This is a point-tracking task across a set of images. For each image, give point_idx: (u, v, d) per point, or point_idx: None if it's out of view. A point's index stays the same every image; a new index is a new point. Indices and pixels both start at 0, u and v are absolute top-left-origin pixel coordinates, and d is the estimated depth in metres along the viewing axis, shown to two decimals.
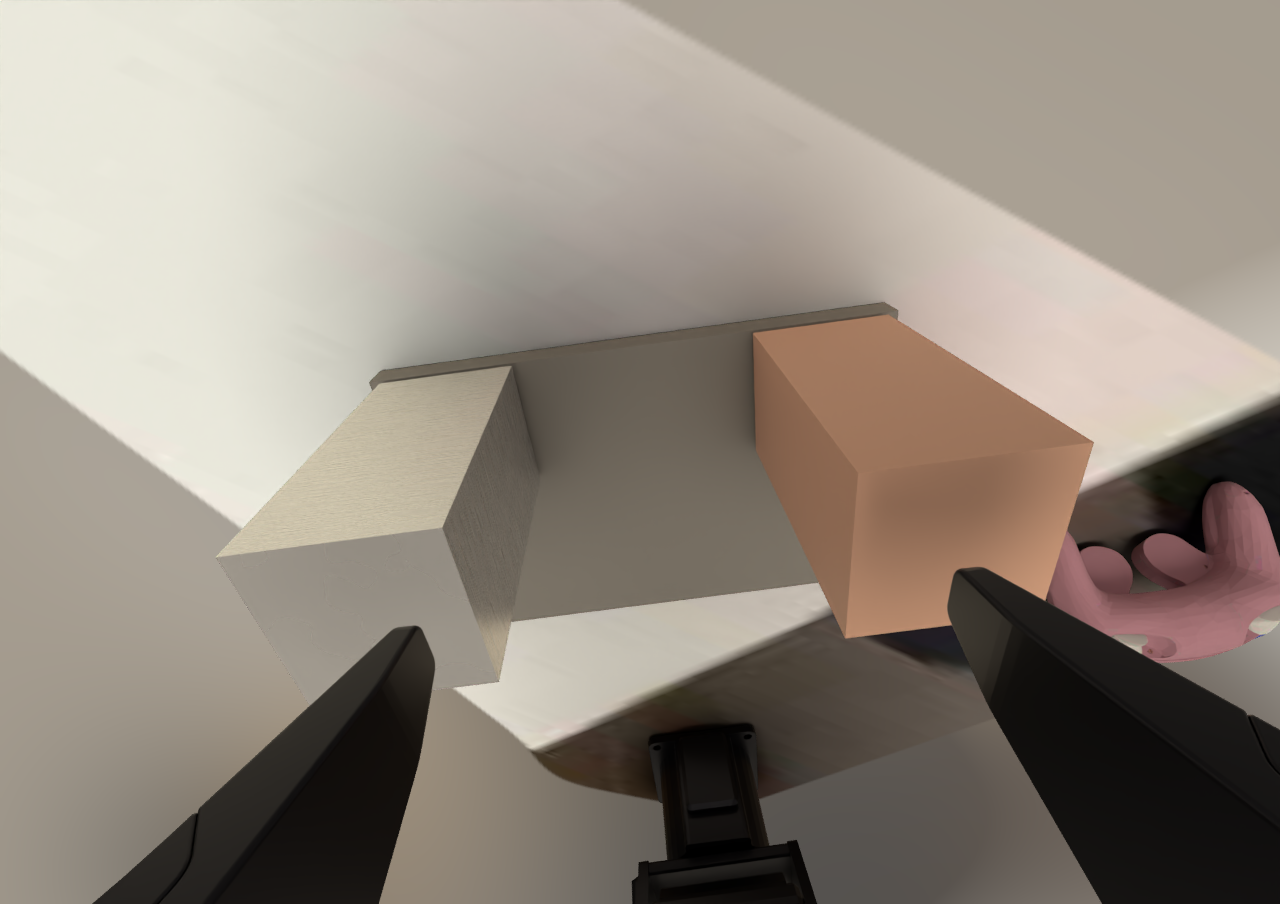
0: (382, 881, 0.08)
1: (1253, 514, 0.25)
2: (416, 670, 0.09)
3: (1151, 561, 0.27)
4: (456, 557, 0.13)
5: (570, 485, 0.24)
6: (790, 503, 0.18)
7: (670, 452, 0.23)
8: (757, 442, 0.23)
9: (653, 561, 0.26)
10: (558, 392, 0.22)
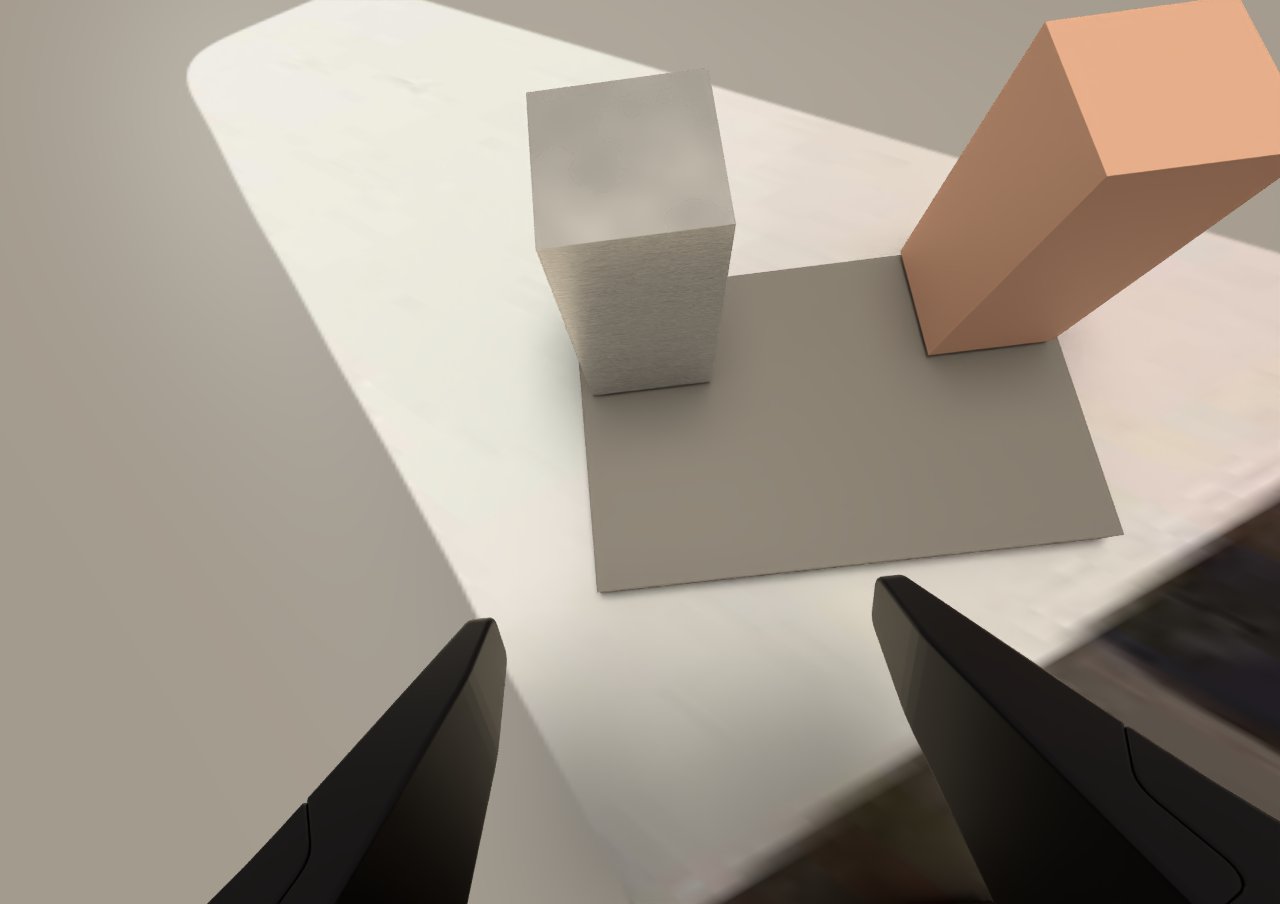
0: (470, 873, 0.08)
1: None
2: (493, 662, 0.09)
3: None
4: (712, 99, 0.15)
5: (739, 395, 0.24)
6: (988, 268, 0.19)
7: (840, 362, 0.24)
8: (928, 339, 0.23)
9: (834, 497, 0.22)
10: (732, 305, 0.25)
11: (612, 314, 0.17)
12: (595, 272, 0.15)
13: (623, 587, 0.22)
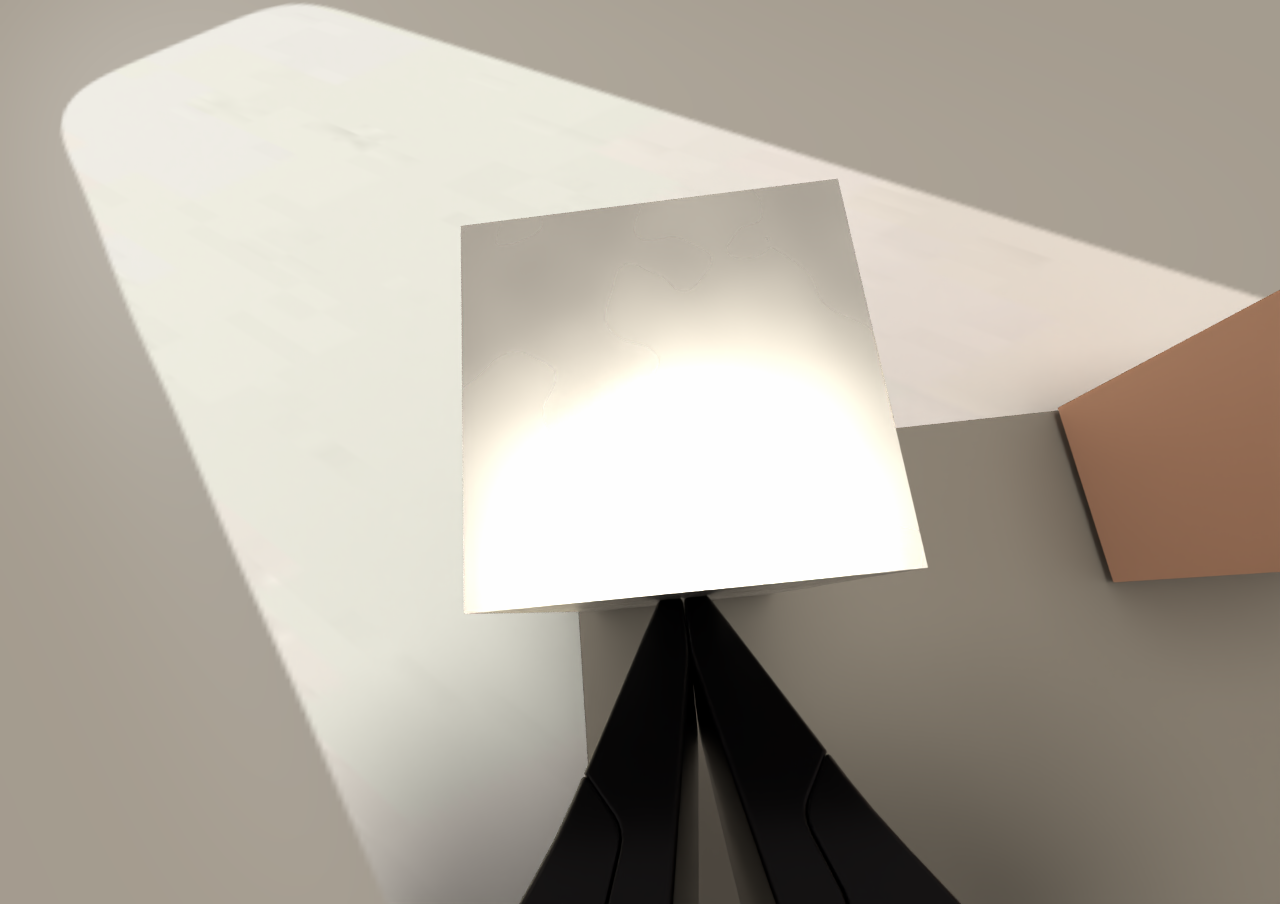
0: (698, 853, 0.08)
1: None
2: None
3: None
4: (848, 247, 0.07)
5: (819, 636, 0.15)
6: None
7: (973, 585, 0.16)
8: (1115, 560, 0.15)
9: (976, 822, 0.14)
10: None
11: (631, 603, 0.10)
12: (600, 603, 0.07)
13: None
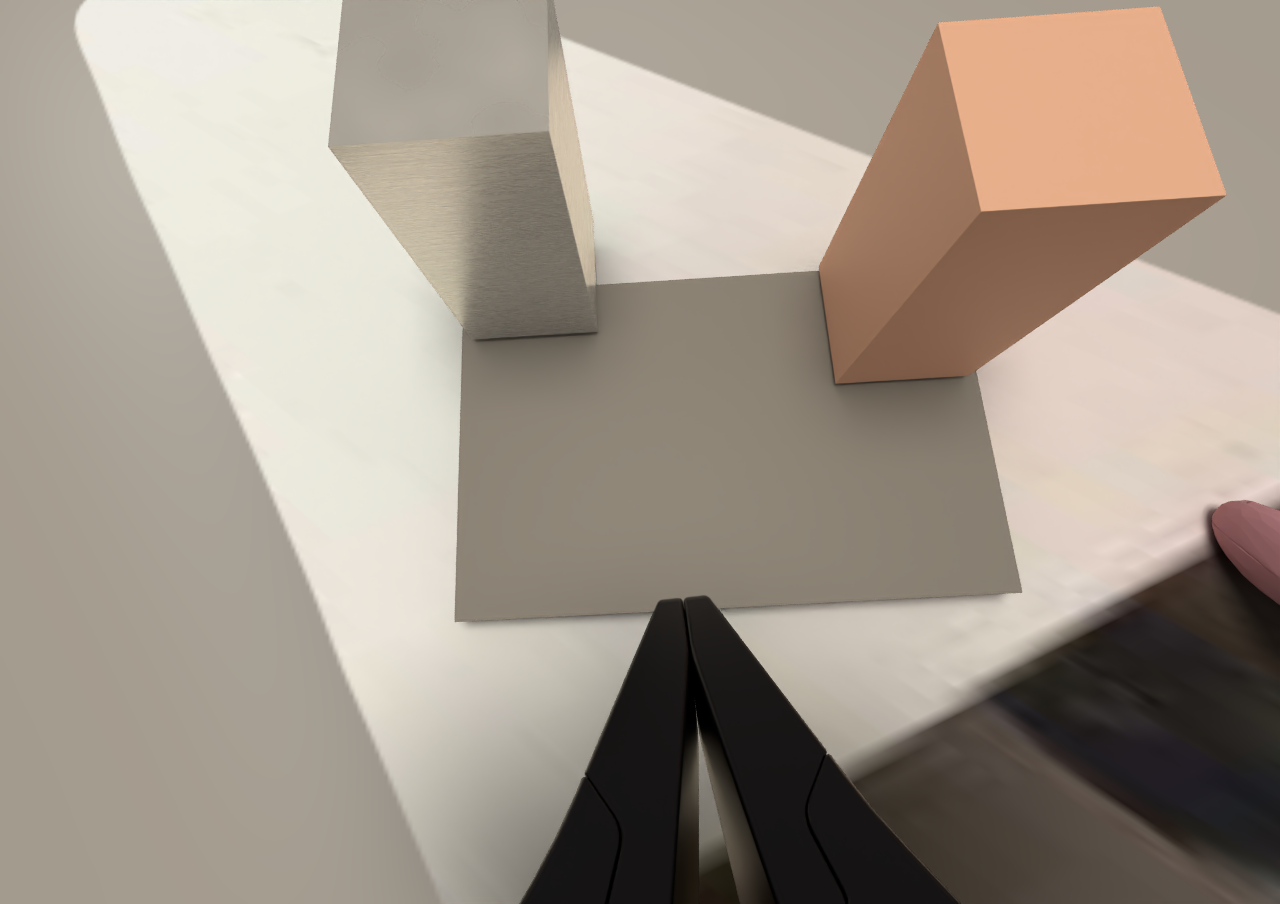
0: (698, 853, 0.08)
1: None
2: None
3: None
4: None
5: (630, 415, 0.22)
6: (883, 298, 0.17)
7: (741, 385, 0.22)
8: (836, 367, 0.21)
9: (719, 533, 0.20)
10: (633, 314, 0.23)
11: (453, 239, 0.16)
12: (410, 182, 0.14)
13: (483, 618, 0.20)
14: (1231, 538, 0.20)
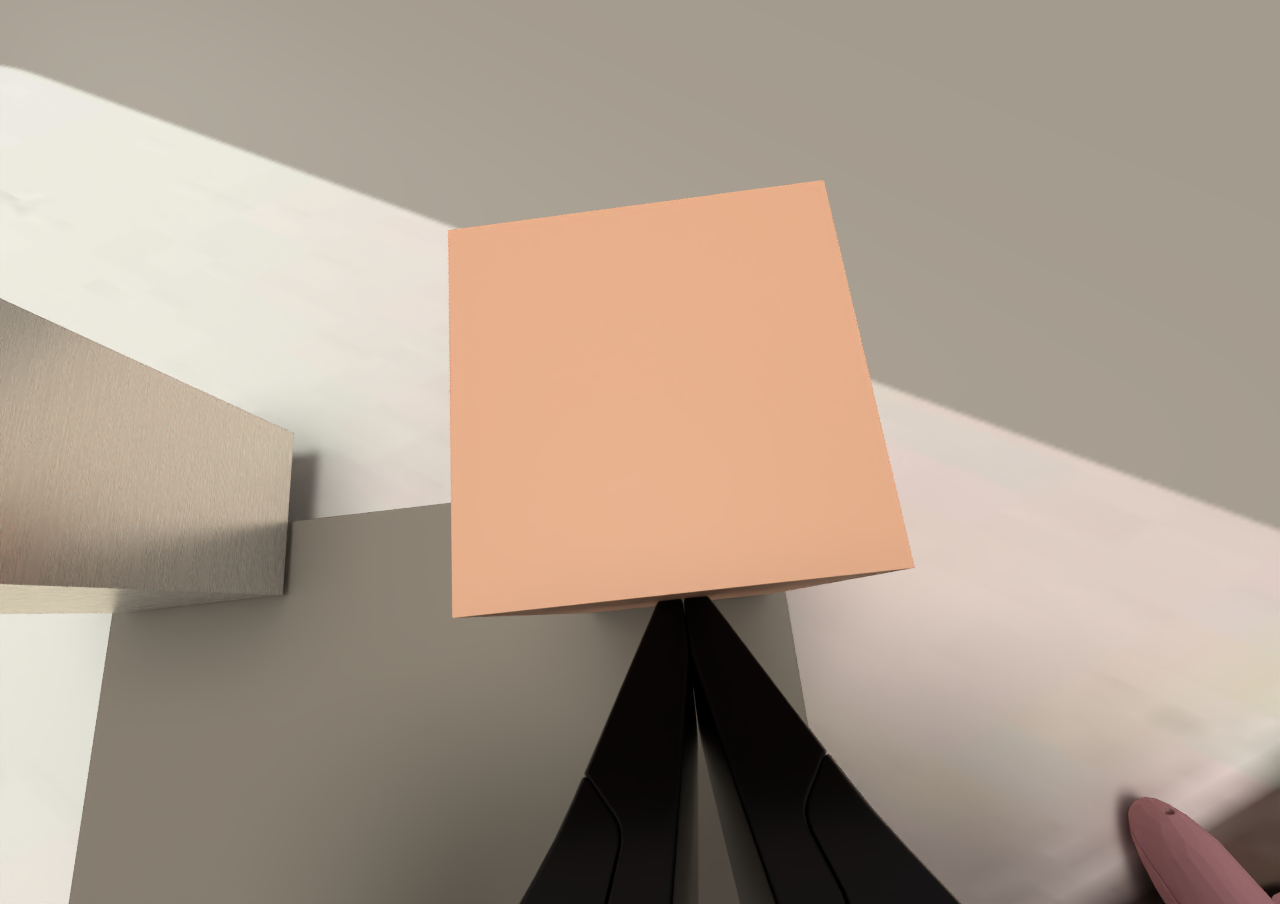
0: None
1: None
2: (687, 642, 0.09)
3: None
4: None
5: (319, 717, 0.16)
6: None
7: (472, 664, 0.16)
8: None
9: None
10: (337, 562, 0.17)
11: None
12: None
13: None
14: (1153, 863, 0.14)
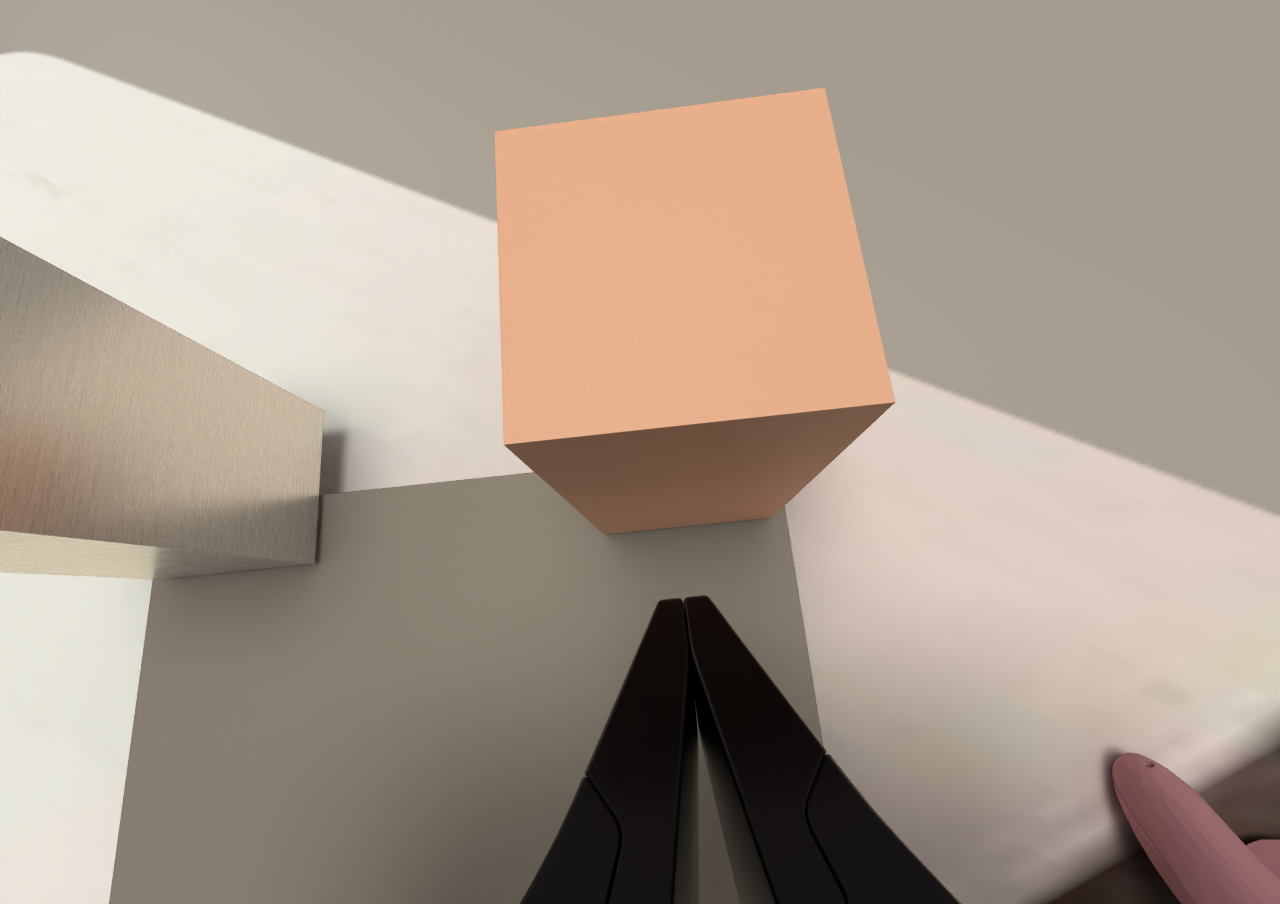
0: (698, 853, 0.08)
1: None
2: None
3: None
4: None
5: (350, 678, 0.17)
6: None
7: (495, 631, 0.17)
8: None
9: (451, 853, 0.15)
10: (366, 534, 0.18)
11: None
12: None
13: None
14: (1134, 813, 0.15)
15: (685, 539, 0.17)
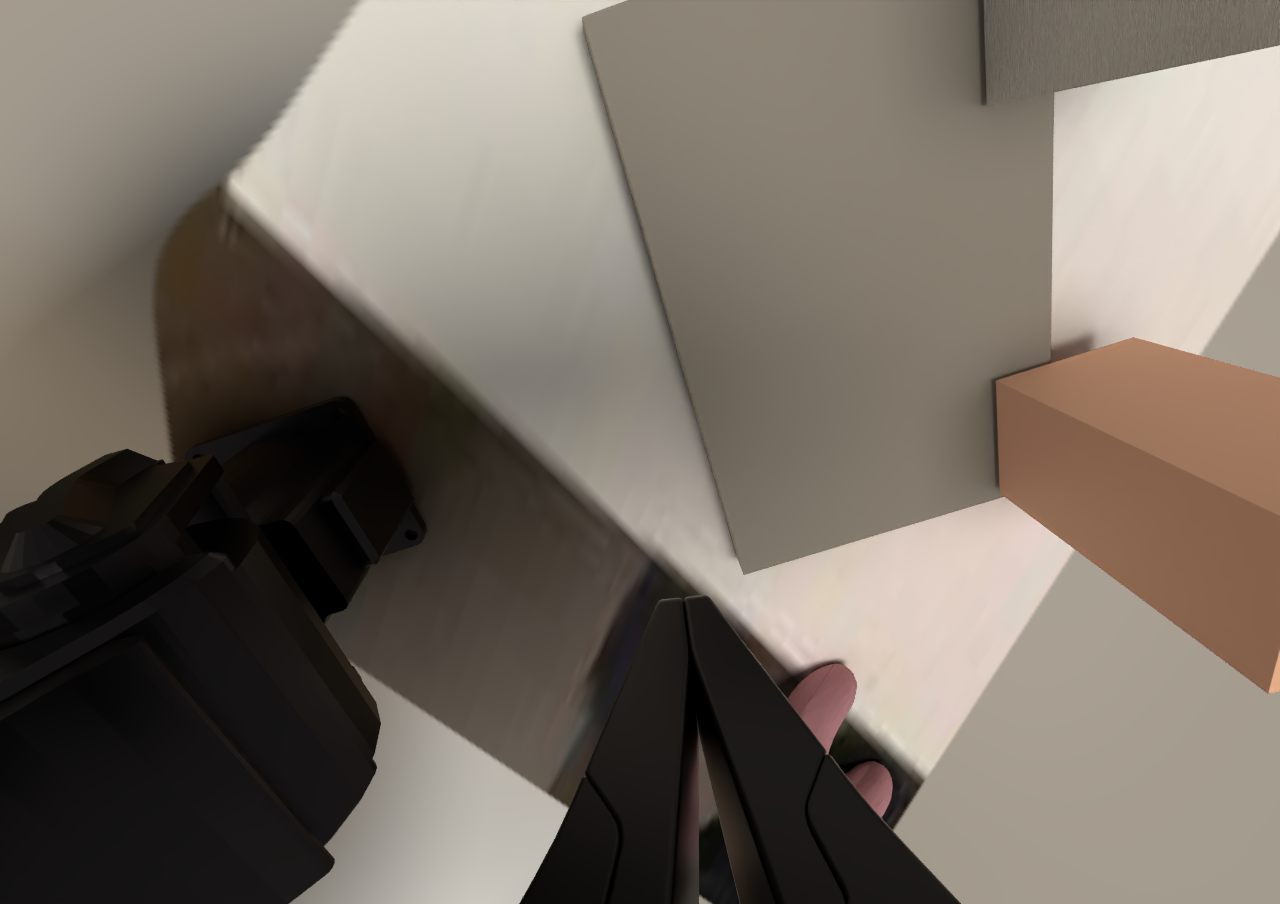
0: (698, 853, 0.08)
1: (886, 798, 0.30)
2: None
3: None
4: None
5: (873, 184, 0.18)
6: (1137, 426, 0.16)
7: (916, 308, 0.20)
8: (1016, 378, 0.20)
9: (750, 323, 0.19)
10: (1007, 150, 0.18)
11: None
12: None
13: (596, 59, 0.16)
14: (825, 677, 0.27)
15: (983, 437, 0.22)
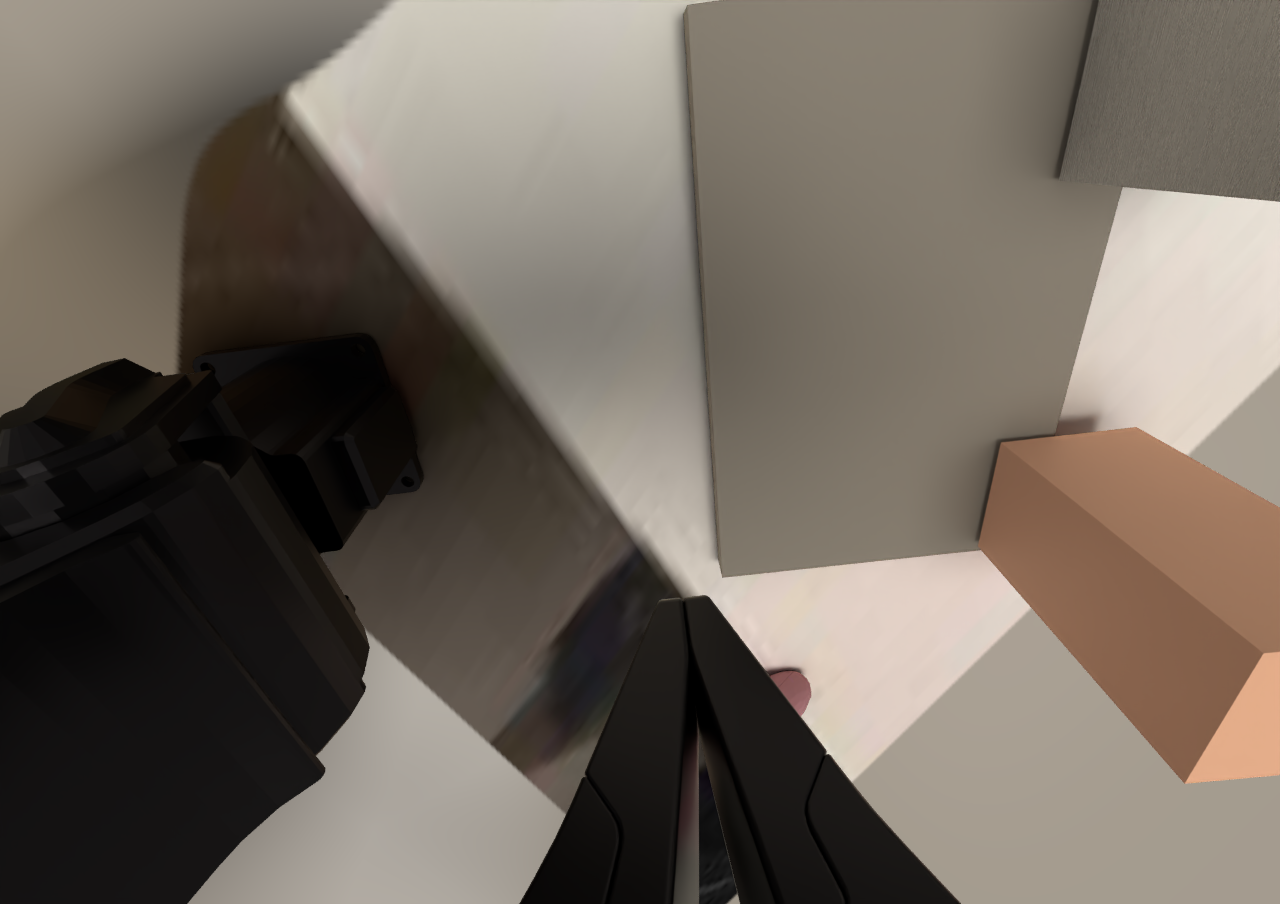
0: (698, 853, 0.08)
1: None
2: None
3: None
4: None
5: (932, 233, 0.18)
6: (1125, 518, 0.17)
7: (943, 360, 0.20)
8: (1020, 444, 0.21)
9: (783, 343, 0.19)
10: (1067, 227, 0.18)
11: None
12: None
13: (692, 51, 0.15)
14: (783, 682, 0.28)
15: (976, 492, 0.23)
